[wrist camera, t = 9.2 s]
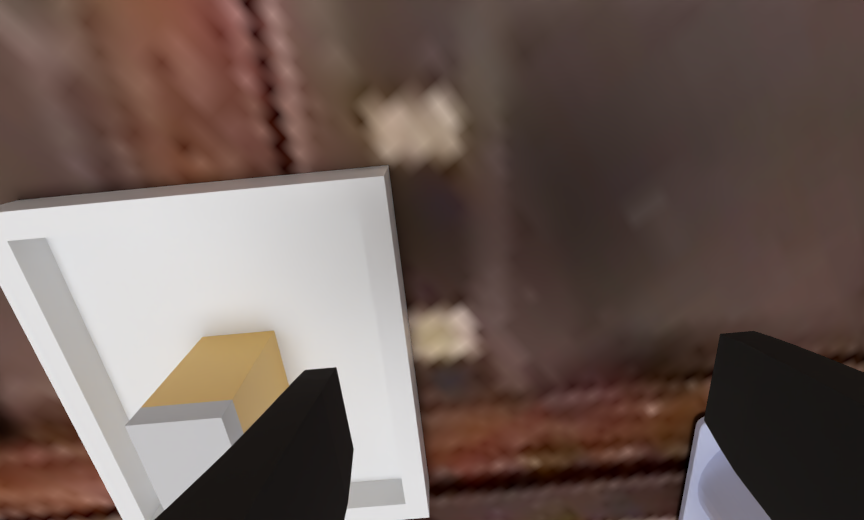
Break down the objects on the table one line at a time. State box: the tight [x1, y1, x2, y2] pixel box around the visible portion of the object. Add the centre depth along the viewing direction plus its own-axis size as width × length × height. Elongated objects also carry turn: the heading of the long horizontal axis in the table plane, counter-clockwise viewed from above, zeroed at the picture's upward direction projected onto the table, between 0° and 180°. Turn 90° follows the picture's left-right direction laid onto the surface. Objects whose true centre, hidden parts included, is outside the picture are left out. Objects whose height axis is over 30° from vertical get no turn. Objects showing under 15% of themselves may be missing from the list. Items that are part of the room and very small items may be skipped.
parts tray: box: [0, 165, 429, 520], centre depth 18 cm, size 14×16×2 cm
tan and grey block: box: [125, 331, 289, 510], centre depth 16 cm, size 3×4×5 cm, turn 5°
